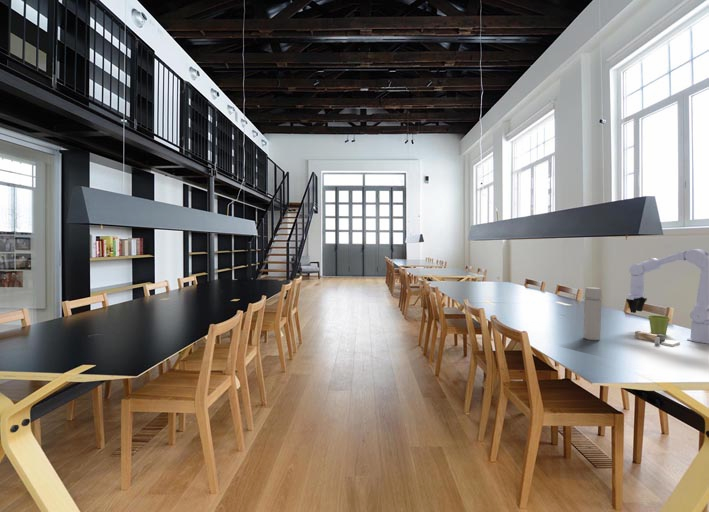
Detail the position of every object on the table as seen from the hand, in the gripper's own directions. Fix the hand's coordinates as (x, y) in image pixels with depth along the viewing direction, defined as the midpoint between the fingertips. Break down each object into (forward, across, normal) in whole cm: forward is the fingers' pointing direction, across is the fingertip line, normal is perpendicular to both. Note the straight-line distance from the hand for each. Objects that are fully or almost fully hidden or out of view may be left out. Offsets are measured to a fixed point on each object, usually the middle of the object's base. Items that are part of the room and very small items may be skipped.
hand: (636, 311), depth 208 cm
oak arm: (+10, +18, +13) cm, 24 cm away
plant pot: (+10, -1, +10) cm, 14 cm away
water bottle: (+10, +38, -5) cm, 40 cm away
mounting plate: (+10, +18, +21) cm, 30 cm away
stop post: (+10, +25, +18) cm, 32 cm away
